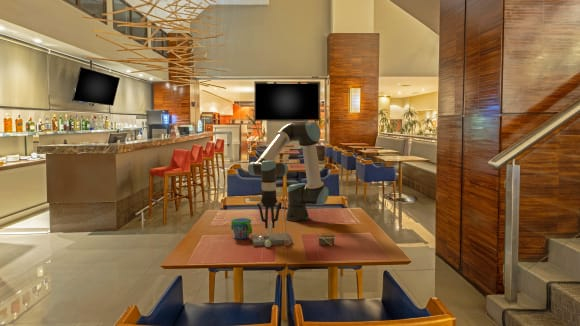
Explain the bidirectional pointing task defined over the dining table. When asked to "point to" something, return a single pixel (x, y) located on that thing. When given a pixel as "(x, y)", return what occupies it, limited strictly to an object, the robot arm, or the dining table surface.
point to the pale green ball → (267, 243)
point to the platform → (326, 239)
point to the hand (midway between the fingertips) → (269, 234)
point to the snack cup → (241, 228)
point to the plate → (270, 239)
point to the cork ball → (287, 242)
